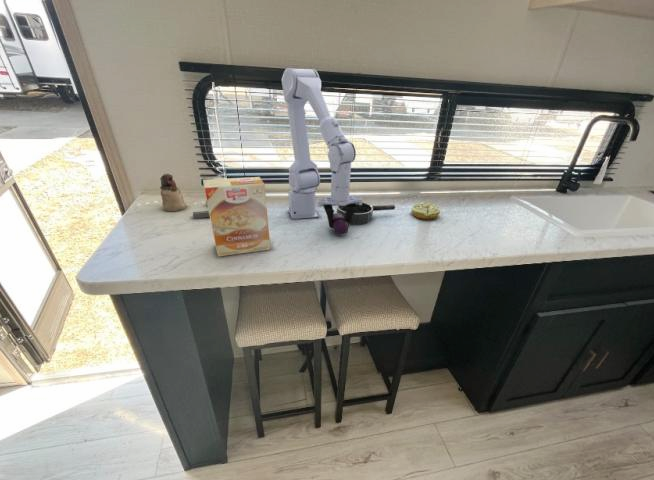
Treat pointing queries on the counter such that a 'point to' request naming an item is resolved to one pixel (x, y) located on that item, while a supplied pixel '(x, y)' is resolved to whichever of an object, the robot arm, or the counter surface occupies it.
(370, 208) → the pan
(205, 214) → the door handle
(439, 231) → the counter surface
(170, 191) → the figurine
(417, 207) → the decorated donut
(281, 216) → the counter surface
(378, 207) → the pan handle
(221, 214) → the coffeecake box
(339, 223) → the eggplant
